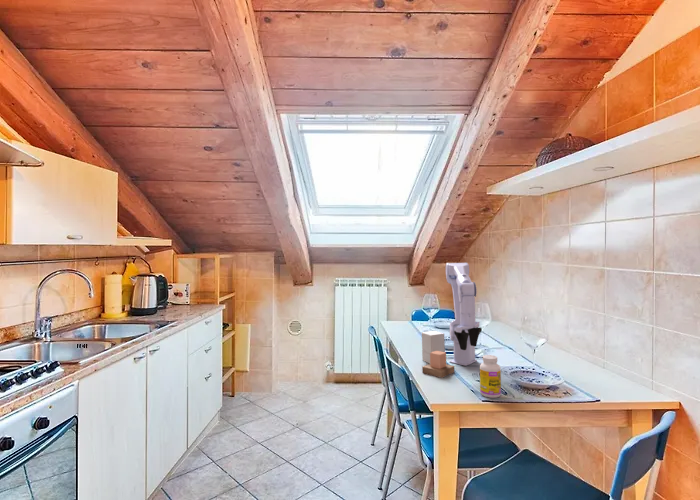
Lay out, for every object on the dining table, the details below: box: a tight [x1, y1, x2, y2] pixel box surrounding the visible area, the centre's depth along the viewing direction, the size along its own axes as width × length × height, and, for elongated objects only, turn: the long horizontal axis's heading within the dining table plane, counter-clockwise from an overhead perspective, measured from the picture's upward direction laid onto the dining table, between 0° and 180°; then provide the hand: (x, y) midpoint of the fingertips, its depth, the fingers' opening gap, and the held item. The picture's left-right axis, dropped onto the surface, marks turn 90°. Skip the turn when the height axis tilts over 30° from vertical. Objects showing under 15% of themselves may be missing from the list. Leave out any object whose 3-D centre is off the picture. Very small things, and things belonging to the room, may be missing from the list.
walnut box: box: [421, 363, 455, 378], centre depth 155 cm, size 9×9×3 cm
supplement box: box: [421, 330, 446, 364], centre depth 170 cm, size 7×7×13 cm
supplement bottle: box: [479, 354, 502, 399], centre depth 131 cm, size 7×7×13 cm
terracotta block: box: [429, 351, 447, 369], centre depth 155 cm, size 4×4×6 cm
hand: (468, 347), depth 152 cm, fingers open, 7 cm apart
